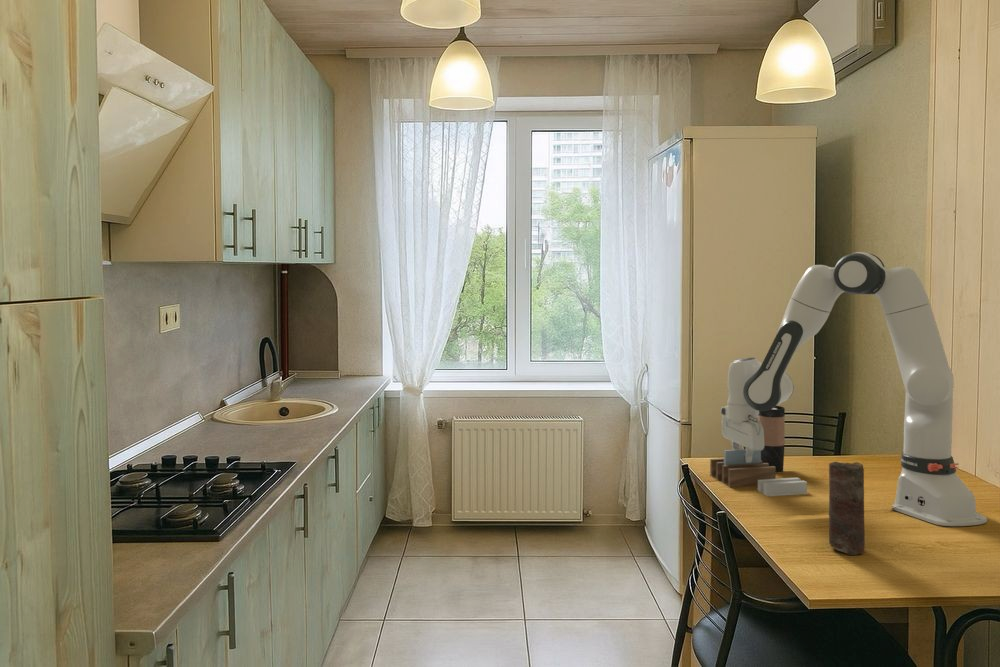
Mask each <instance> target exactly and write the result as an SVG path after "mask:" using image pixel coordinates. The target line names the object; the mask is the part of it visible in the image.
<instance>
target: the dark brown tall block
mask: <svg viewBox="0 0 1000 667" xmlns="http://www.w3.org/2000/svg"><path fill="white" fill-rule="evenodd" d="M828 474H829V476H828V482H829V484H828V487H829V488H828V493H829V494H828V495H829V496H828V502H829V503H828V512H829V513H828V541H829V543H828V544H829V545H830V546H831V548H834V549H835V550H837V551H839V552H841V553H844V554H845V555H849V556H850V555H851V556H856V555H859V554H863V553H864V552H865V549H866V546H865V542H866V541H865V536H866V535H865V534H866V533H865V468H864V465H863V464H862V463H860V462H858V461H856V462H851V463H850V462H845V463H844V462H838V461H832V462H830V463H829V464H828Z"/></svg>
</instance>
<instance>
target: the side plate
mask: <svg viewBox="0 0 1000 667" xmlns="http://www.w3.org/2000/svg"><path fill="white" fill-rule="evenodd" d="M745 455H746V451H745V448H740V449H736V450H733V449H724V450H723V458H724V465H738V464H755V463H761V450H760V451H754V453H753V456H752V462H751V463H747V462H745V461H744V456H745Z"/></svg>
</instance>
